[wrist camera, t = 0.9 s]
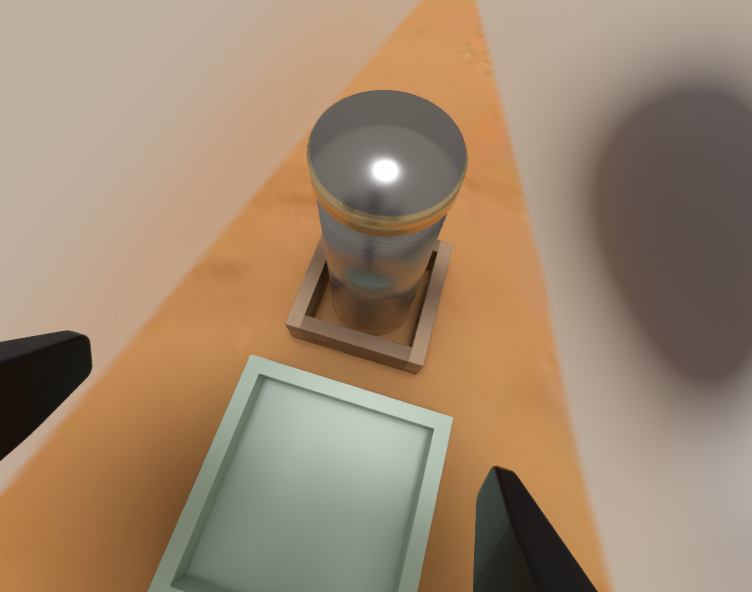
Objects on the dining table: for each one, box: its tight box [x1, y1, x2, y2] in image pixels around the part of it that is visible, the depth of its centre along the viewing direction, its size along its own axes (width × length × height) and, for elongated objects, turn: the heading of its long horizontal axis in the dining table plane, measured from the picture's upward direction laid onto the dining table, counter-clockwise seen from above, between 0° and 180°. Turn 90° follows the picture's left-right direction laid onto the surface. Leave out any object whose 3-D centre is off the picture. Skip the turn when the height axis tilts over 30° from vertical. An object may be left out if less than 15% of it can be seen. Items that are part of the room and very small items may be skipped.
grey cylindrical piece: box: [307, 90, 468, 336], centre depth 18 cm, size 5×5×13 cm
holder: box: [286, 234, 453, 374], centre depth 23 cm, size 8×8×2 cm
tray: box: [147, 355, 453, 592], centre depth 18 cm, size 11×11×2 cm
